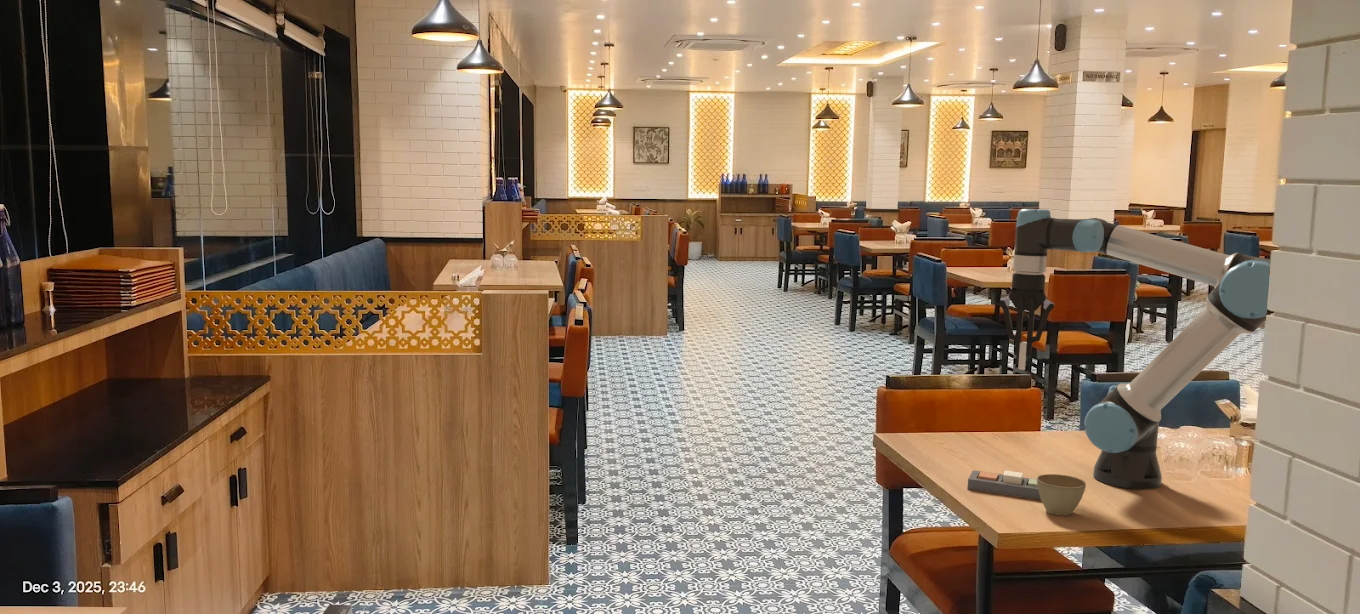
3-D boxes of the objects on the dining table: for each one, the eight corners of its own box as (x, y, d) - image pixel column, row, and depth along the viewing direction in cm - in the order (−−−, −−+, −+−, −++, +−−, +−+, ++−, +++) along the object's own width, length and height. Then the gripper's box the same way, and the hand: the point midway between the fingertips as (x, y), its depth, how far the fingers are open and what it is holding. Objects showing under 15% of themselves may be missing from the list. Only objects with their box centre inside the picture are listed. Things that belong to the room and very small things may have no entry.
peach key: (997, 484, 230) (998, 474, 230) (995, 488, 226) (996, 478, 226) (979, 481, 232) (980, 471, 231) (977, 486, 228) (978, 475, 228)
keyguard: (1056, 492, 227) (1057, 482, 226) (1054, 502, 219) (1055, 491, 219) (972, 479, 234) (972, 470, 234) (967, 488, 227) (968, 478, 227)
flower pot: (1071, 504, 218) (1073, 473, 217) (1091, 520, 208) (1094, 488, 207) (1027, 504, 218) (1029, 472, 217) (1045, 519, 208) (1047, 487, 207)
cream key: (1022, 483, 228) (1023, 473, 227) (1020, 488, 224) (1021, 477, 224) (1004, 480, 229) (1005, 470, 229) (1002, 485, 226) (1003, 474, 225)
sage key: (1046, 491, 226) (1047, 481, 225) (1045, 496, 222) (1046, 485, 222) (1028, 488, 227) (1029, 478, 227) (1027, 493, 224) (1027, 483, 223)
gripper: (1058, 273, 237) (1050, 368, 240) (1002, 270, 242) (995, 363, 245) (1057, 275, 230) (1049, 374, 233) (999, 272, 235) (992, 368, 238)
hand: (1021, 368), depth 239 cm, fingers closed
